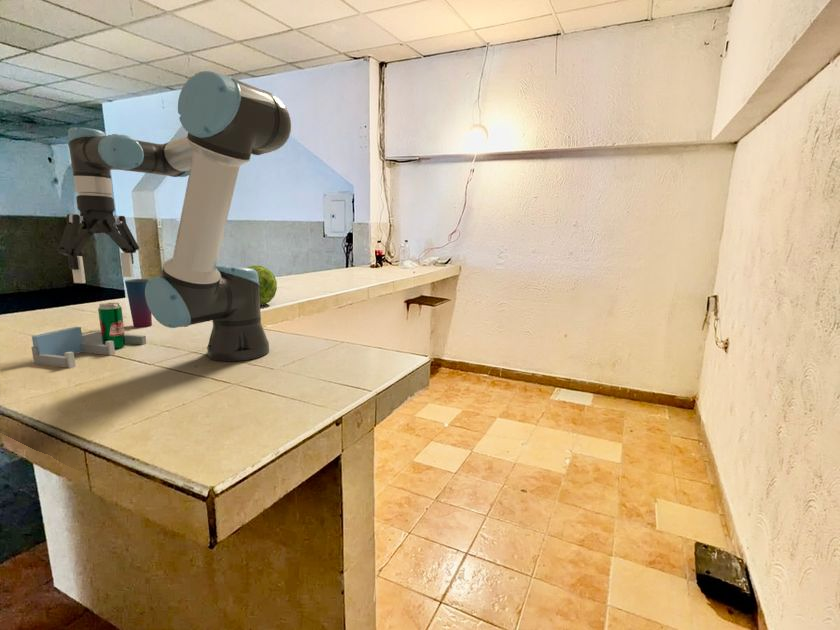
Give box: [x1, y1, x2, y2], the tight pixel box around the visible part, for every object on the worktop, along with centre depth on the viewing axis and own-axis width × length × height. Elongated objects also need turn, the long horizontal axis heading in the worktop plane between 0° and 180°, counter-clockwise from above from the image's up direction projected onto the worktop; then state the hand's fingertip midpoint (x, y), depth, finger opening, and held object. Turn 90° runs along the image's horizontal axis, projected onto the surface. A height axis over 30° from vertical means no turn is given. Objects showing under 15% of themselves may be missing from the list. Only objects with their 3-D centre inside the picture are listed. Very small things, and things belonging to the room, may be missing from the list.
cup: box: [124, 278, 153, 329], centre depth 137 cm, size 7×7×15 cm
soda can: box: [97, 302, 127, 350], centre depth 114 cm, size 5×5×12 cm
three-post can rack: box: [30, 326, 147, 369], centre depth 109 cm, size 11×22×6 cm, turn 167°
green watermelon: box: [246, 265, 278, 306], centre depth 180 cm, size 17×23×16 cm
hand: (105, 279), depth 111 cm, fingers open, 13 cm apart
